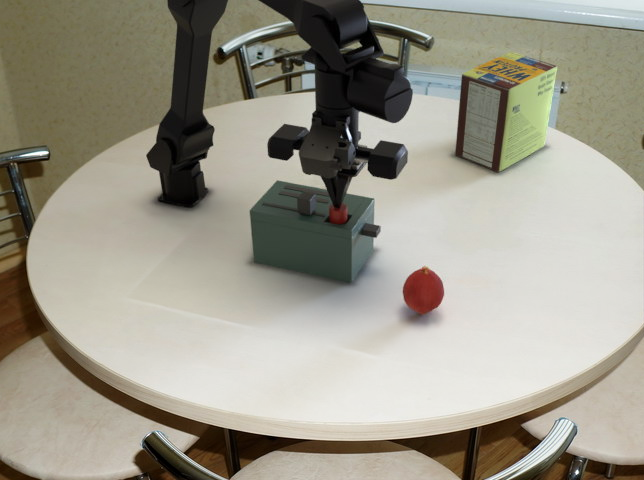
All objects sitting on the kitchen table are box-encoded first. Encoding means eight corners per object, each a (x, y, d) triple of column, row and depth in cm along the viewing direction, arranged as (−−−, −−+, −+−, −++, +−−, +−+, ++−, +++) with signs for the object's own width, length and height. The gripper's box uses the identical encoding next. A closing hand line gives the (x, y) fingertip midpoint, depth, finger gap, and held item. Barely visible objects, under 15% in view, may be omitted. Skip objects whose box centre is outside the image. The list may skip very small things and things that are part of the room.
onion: (399, 301, 124) (402, 254, 119) (439, 300, 124) (443, 253, 119) (404, 325, 119) (406, 278, 114) (444, 324, 120) (449, 276, 115)
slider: (297, 213, 124) (296, 198, 122) (303, 205, 126) (303, 190, 124) (310, 215, 124) (309, 200, 122) (316, 207, 125) (316, 193, 124)
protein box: (545, 146, 163) (558, 65, 153) (498, 173, 154) (509, 89, 144) (500, 130, 168) (510, 50, 158) (453, 155, 160) (460, 72, 149)
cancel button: (326, 222, 123) (326, 209, 122) (333, 214, 125) (333, 200, 124) (343, 226, 123) (343, 212, 121) (349, 217, 125) (349, 204, 123)
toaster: (253, 262, 131) (249, 209, 125) (280, 230, 138) (277, 179, 132) (366, 286, 127) (367, 233, 121) (387, 252, 134) (389, 200, 128)
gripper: (246, 113, 109) (254, 221, 119) (384, 136, 104) (381, 246, 114) (281, 81, 117) (286, 185, 127) (411, 102, 112) (406, 208, 122)
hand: (337, 206), depth 122 cm, fingers closed
